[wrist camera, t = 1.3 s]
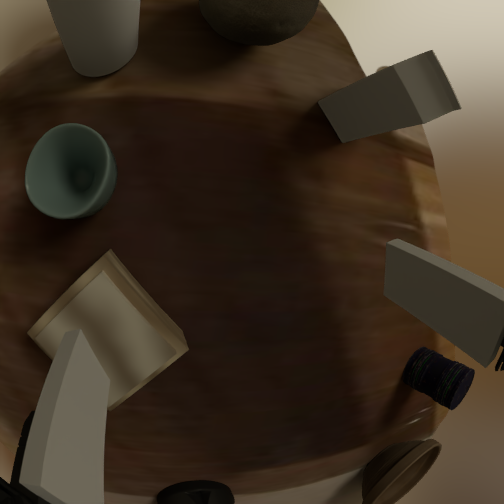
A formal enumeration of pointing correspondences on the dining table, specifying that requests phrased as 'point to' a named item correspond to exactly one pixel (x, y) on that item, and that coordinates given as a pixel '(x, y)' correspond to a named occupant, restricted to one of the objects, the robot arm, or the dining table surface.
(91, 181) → the cup
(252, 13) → the black ball
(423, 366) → the storage jar
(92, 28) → the alcohol
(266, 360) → the dining table surface
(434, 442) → the flower pot
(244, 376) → the dining table surface
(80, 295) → the pedestal
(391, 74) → the milk carton
